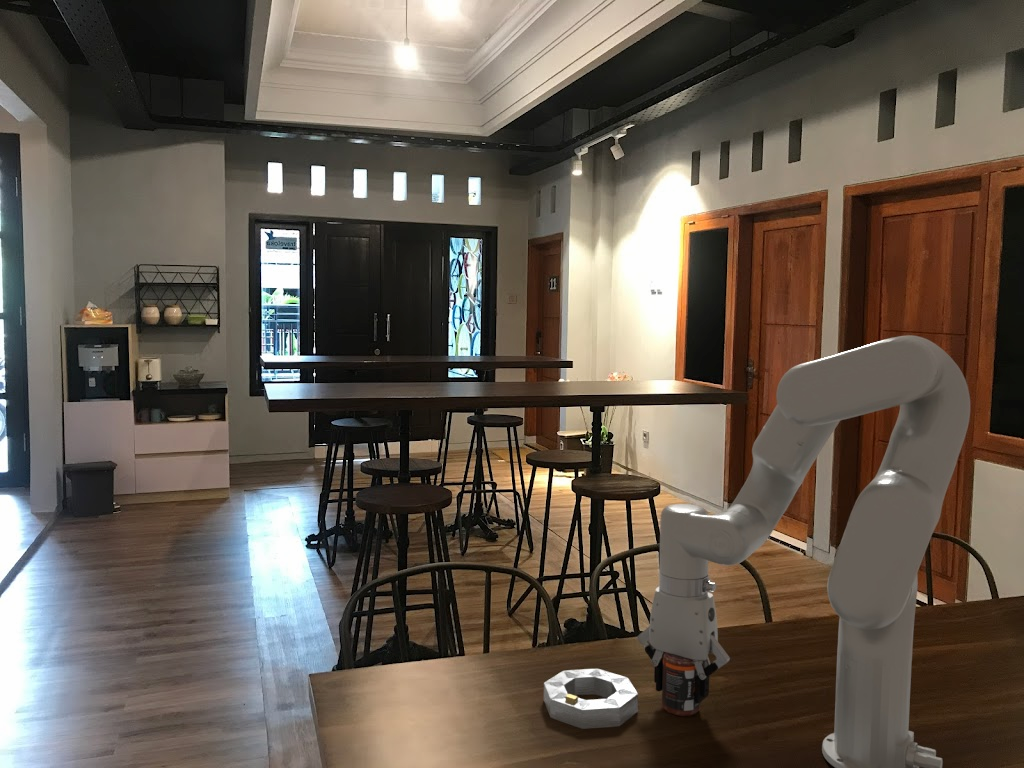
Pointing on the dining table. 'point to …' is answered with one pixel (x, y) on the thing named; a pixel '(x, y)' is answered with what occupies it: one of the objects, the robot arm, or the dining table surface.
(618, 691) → the grey octagonal ring
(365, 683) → the dining table surface
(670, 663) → the supplement bottle
